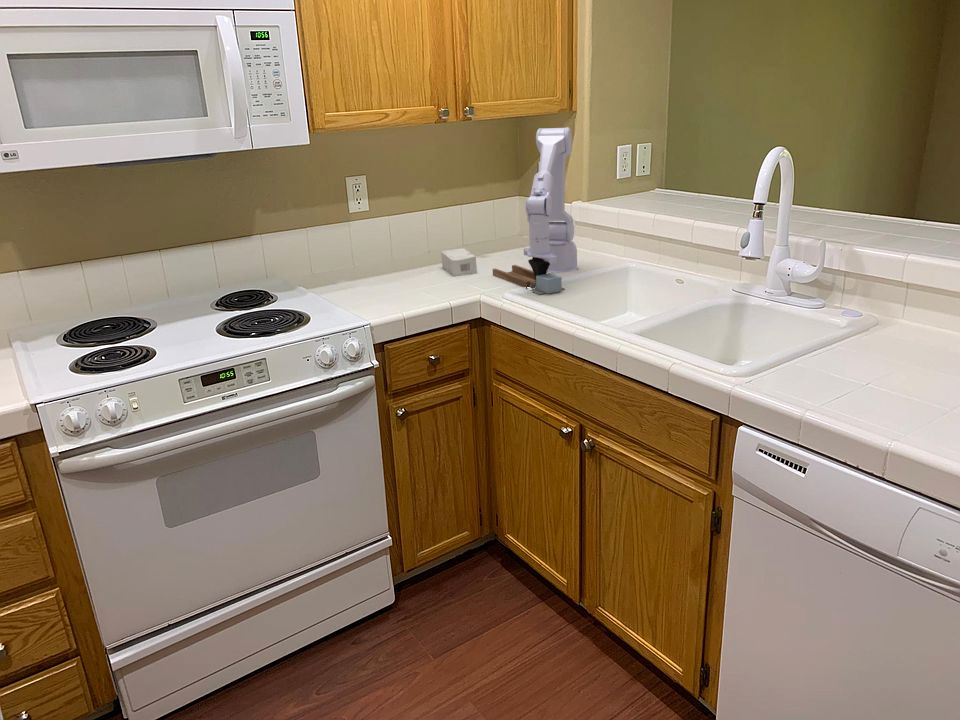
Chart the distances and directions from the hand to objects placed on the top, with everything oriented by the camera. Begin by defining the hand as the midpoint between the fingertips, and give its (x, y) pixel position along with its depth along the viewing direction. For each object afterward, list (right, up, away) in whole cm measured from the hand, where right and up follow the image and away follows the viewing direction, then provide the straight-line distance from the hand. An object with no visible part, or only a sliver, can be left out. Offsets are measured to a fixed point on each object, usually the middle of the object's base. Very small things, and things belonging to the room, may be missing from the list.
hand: (540, 282), depth 215 cm
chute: (-4, +1, +7) cm, 8 cm away
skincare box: (-22, +7, +17) cm, 29 cm away
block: (+2, -2, -3) cm, 5 cm away
